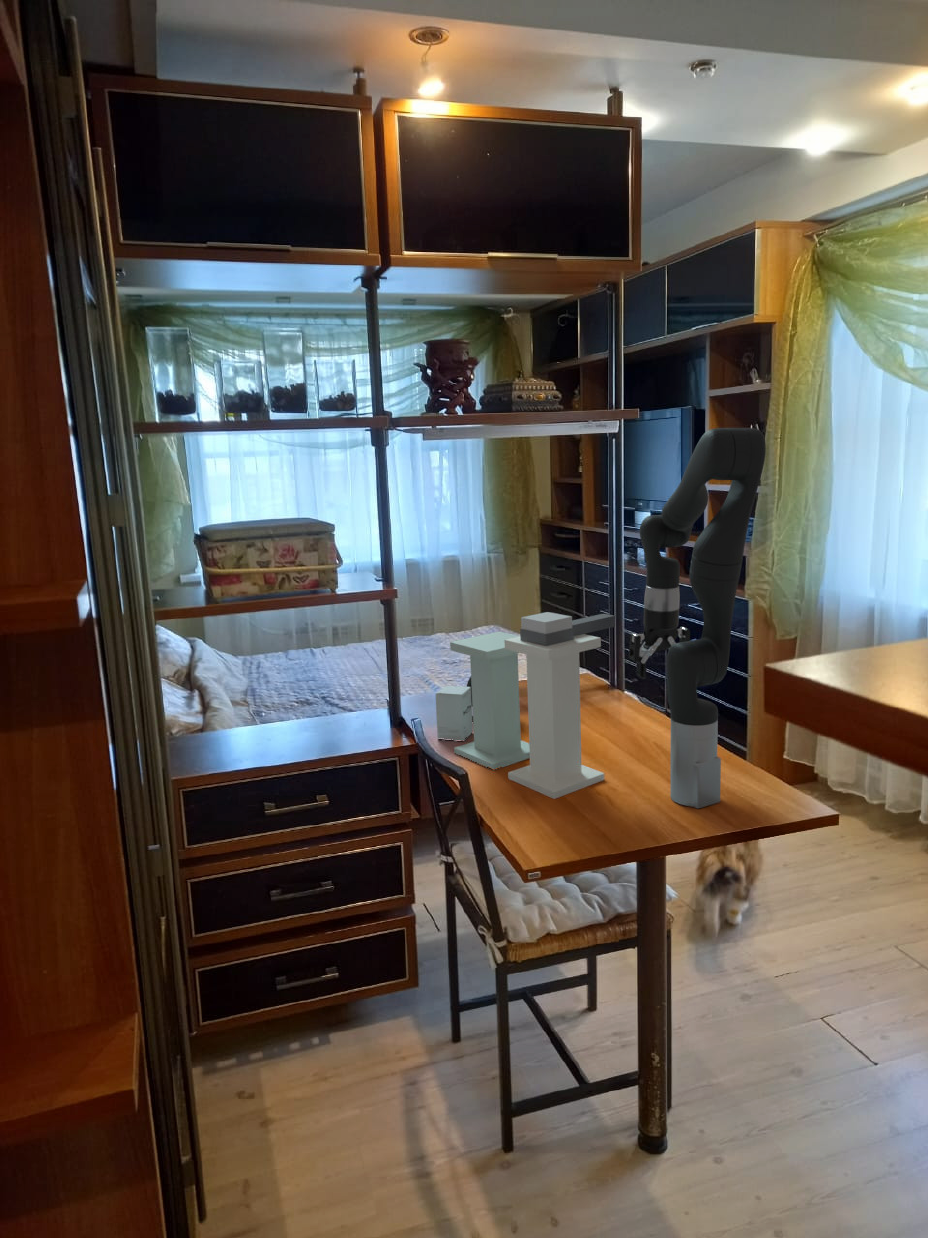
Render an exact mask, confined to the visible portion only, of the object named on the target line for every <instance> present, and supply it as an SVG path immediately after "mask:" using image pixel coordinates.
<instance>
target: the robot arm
mask: <svg viewBox="0 0 928 1238" xmlns="http://www.w3.org/2000/svg"><path fill="white" fill-rule="evenodd" d="M766 447H767V445H766V439H765V435H764V434H763V432H762V431H761V430H760V429H758V428H752V427H716V428H712V429H710V428H709V430H706V431H705V432H704V433H703V434H702V436H701V437H700V438H699V440H698V442H697V444H696V445H695V448H694V450H693V452H692V455H691V456H690V459H689V461H688V463H687V466H686V468H685V470H684V473H683V476H682V478H681V480H680V483H679V485H677V488H676V489H675V490H674V492H673V493H672V494H671V496H670V497H669V498H668V500H666V502H665V504H664V505H663V507H662V509H661V510H662V511H661V514H657V515H656V514H653V515H648V516H646V517H644V519H643V520H642V522H641V523H640V527H639V537H640V541H641V542H640V543H641V546H642V549H643V553H644V559H645V564H646V565H645V566H646V579H645V581H646V583H645V584H646V585H645V592H644V599H643V600H644V601H643V605H644V606H643V627H644V628H643V632H642V633H635V632H632V633H631V634H630V636H629V646H628V647H629V648H628V650H629V651H628V659H630V660H632V661H634V662H636V669H635V670H636V671H635V672H636V675H637V676H638V678H640V679H641V680H645V679H646V678H647V661H648V659H649V658H650V657H651V656H652V655H653V654H654V653H655V652H661V651H667V654H666V662H665V664H666V666H665V668H666V685H667V686H666V687H667V689H666V691H667V702H668V706H669V710H670V711H669V712H670V774H669V775H670V799H671V800H672V802H675V803H676V804H680V805H682V806H684V807H685V806H686V807H693V808H695V809H701V808H704V807H707V806H711V805H714V804H715V805H716V804H719V803H720V802H721V778H722V777H721V775H722V774H721V770H722V768H721V767H722V765H721V764H722V759H721V757H720V756H718V735H719V734H718V727H719V725H718V723H719V721H718V720H719V709H718V706H717V705H716V704H715V703H713V702H712V701H710V700H707V699H703V698H698V697H699V696H698V687H705V686H710V685H714V684H718V683H719V682H722V680H723V679H724V678H725V676H726V675H727V671H728V667H729V659H730V652H731V651H730V650H731V637H732V636H731V635H732V622H733V615H734V609H735V602H736V595H737V589H738V584H739V581H740V577H741V570H742V566H743V565H742V564H743V560H744V551H745V547H746V545H745V544H746V539H747V536H748V535H747V533H748V528H749V524H750V523H749V522H750V518H751V515H752V510H753V506H754V503H755V499H756V496H757V491H758V488H759V484H760V481H761V478H762V474H763V470H764V466H765V461H766V452H767V451H766V449H767V448H766ZM711 480H715V481H731V482H730V487H729V489H728V493H727V496H726V499H725V500H724V502H723V504H722V505H721V507H720V509H719V510H718V512H717V513H716V514H715V515H714V516H713V517H712V519H711V520H710V521H709V522H708V524H707V525H706V526H705V528H704V529H703V530H702V532H701V533H700V534H699V535H698V537H697V538H696V540H695V542H694V545H693V548H692V549H693V550H692V554H691V561H690V565H689V566H690V567H689V574H688V577H689V578H688V579H689V582H690V583H689V584H690V586H691V589H692V591H693V593H694V595H695V597H696V599H697V601H698V603H699V606H700V608H701V611H702V614H703V627H702V633H701V637H700V639H694V640H691V630H690V629H689V628H687V627H685V626H680V627H679V621H680V620H679V618H680V596H681V594H680V575H681V572H680V570H681V564H680V562H679V560H678V559H676V558H673V557H669V556H663V555H661V554H662V553H661V552H660V549H666V548H668V549H669V548H679V547H682V546H684V545H686V544H687V543H688V542H689V540H690V538H691V534H692V529H693V527H694V524H695V523H696V521H697V520H698V519H699V518H700V517H701V516H702V514H703V513H704V512H705V510H706V509H707V506H708V504H709V503H708V502H709V492H708V490H707V486H706V484H707V483H708V482H709V481H711ZM678 627H679V628H678ZM677 638H679V640H678V641H679V642H676V639H677Z"/></svg>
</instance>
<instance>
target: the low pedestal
mask: <svg viewBox="0 0 928 1238" xmlns="http://www.w3.org/2000/svg"><path fill="white" fill-rule="evenodd" d="M519 636H520V635H515V634H511V633H509V632H508V633H506V632H503V631H495V632H491V633H486V634H482V635H477V636H473V637H467V638H462V639H459V640H454V641H450V642H449V648H450V652H451V651H452V652H454V653H455V652H456V653H459V654H462V655H467V656H469V659H470V661H469V663H470V677H471V685H472V706H473V707H472V716H473V724H472V728H473V741H471V742H469V743H466V744H461V745H459V746H454V748H453V749H454V750H453V751H454V754H455V753H456V754H455V755H457V754H458V755H457V756H459V755H461V756H463V757H462V758H464V757H466V758H468V759H470V760H469V761H471V760H472V761H471V762H473V761H474V762H473V763H475V762H477V763H476V764H478V763H479V764H478V765H480V764H481V765H480V766H482V765H484V766H485V768H487V767H490V768H492V769H496V768H499V767H502V768H504V767H507V766H510V765H514V764H516V763H519V762H522V761H525V760H528V759H530V749H529V742H527V741H525V740H522V739H521V738H522V737H521V736H522V735H521V734H522V733H521V711H520V709H521V707H520V706H521V705H520V686H519V684H520V683H519V682H520V681H519V656H518V655H519V654H520V653H519V652H515V651H511V650H507V649H505V642H504V640H506V639H510V638H515V637H519ZM461 756H460V757H461ZM466 758H465V759H466ZM468 759H467V760H468ZM484 766H483V767H484ZM499 769H500V768H499ZM496 770H497V769H496Z"/></svg>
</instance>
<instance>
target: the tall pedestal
mask: <svg viewBox="0 0 928 1238" xmlns="http://www.w3.org/2000/svg"><path fill="white" fill-rule="evenodd" d="M518 636H519V637H515V638H510V639H506V640H504V642H505V649H507V650H511V651H515V652H519V653H518V654H524V655H526V683H527V685H526V686H527V712H528V713H527V714H528V741H529V742H528V743H529V749H530V758H529V765H526V766H525V765H524V766H523V767H520V768H517V769H513V770H511V771H508V773H507V777H508V780H509V781H513V782H515V783H517V784H519V785H522V786H524V787H526V788H528V789H531V790H532V791H535V792H538V793H540V794H542V795H543V796H547V797H548V798H551V799H554V800H555V799H559V798H560V797H563V796H566V795H568V794H571V793H575V792H576V791H579V790H581V789H584V788H586V787H589V786H592V785H594V784H597V783H599V782H602V781H604V780H605V773H604V772H602V771H599V770H598V769H594V768H592V767H588V766H586V765H584V764H582V735H581V734H582V733H581V732H582V731H581V730H582V728H581V727H582V724H581V723H582V722H581V719H582V718H581V683H580V682H581V681H580V680H581V677H580V676H581V675H580V673H581V672H580V653H582V652H585V651H589V650H594V649H599V648H601V647H602V643H601V641H602V638H601V637H599V636H594V635H590V634H581V635H577V636H574V640H570V641H566V642H562V643H558V644H553V645H549V646H543V645H538V644H534V643H530V642H525V641H521V638H520V635H518Z"/></svg>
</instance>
